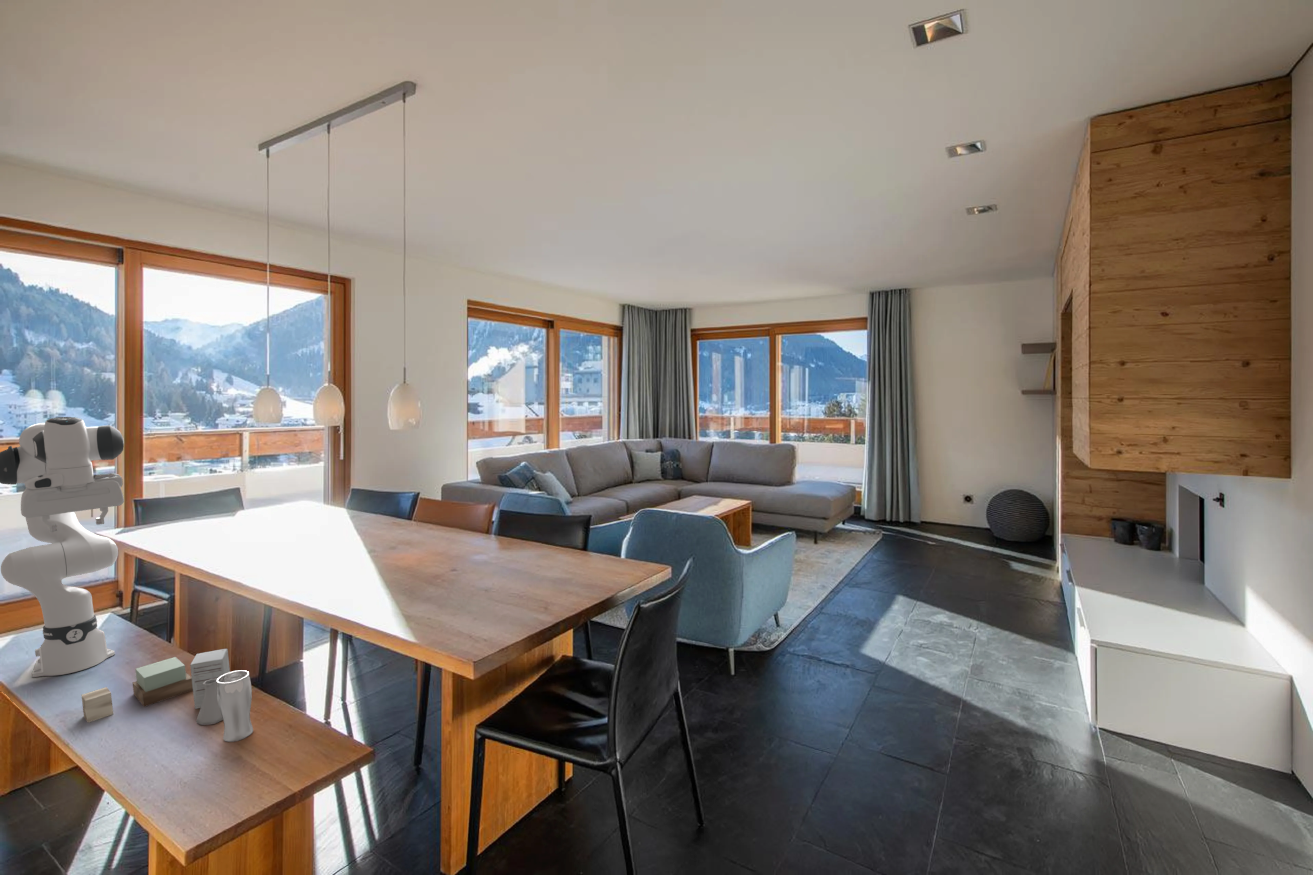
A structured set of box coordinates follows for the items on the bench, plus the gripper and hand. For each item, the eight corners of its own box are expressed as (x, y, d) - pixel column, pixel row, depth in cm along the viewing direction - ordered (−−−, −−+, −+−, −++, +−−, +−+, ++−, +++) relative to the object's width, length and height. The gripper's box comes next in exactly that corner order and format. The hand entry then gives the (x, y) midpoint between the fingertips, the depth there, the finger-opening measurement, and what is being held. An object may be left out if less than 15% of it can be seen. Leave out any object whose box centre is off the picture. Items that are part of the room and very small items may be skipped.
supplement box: (200, 696, 169) (196, 653, 168) (232, 690, 172) (228, 647, 171) (193, 709, 162) (189, 664, 161) (227, 703, 165) (222, 658, 164)
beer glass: (247, 741, 147) (241, 682, 146) (215, 744, 146) (209, 685, 145) (260, 725, 154) (255, 668, 153) (230, 728, 153) (224, 671, 152)
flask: (213, 727, 154) (209, 689, 153) (189, 724, 155) (185, 687, 154) (238, 711, 161) (234, 675, 160) (215, 709, 162) (211, 673, 161)
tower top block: (136, 682, 171) (135, 668, 170) (176, 669, 178) (175, 656, 178) (145, 692, 165) (144, 677, 165) (186, 678, 172) (184, 665, 172)
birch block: (83, 716, 160) (81, 694, 160) (109, 708, 164) (106, 686, 164) (87, 722, 157) (85, 700, 157) (113, 714, 161) (110, 692, 160)
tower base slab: (133, 696, 171) (132, 682, 171) (182, 680, 180) (180, 667, 180) (144, 708, 165) (142, 694, 164) (193, 691, 173) (192, 678, 173)
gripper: (118, 471, 175) (123, 518, 176) (16, 481, 159) (22, 533, 160) (124, 473, 171) (129, 521, 172) (19, 484, 155) (26, 537, 157)
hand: (77, 527), depth 166 cm, fingers open, 8 cm apart
